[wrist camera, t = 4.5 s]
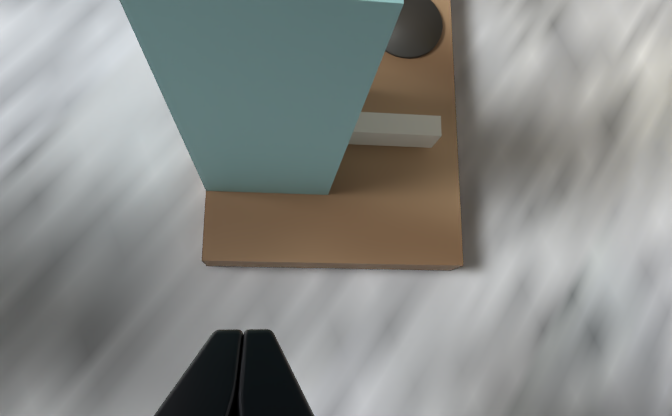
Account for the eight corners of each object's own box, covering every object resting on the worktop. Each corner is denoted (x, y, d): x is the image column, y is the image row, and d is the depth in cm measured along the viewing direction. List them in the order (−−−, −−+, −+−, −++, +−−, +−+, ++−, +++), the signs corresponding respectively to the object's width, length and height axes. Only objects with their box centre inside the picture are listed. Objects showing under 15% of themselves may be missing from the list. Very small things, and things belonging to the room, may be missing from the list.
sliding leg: (429, 198, 16) (633, 20, 7) (206, 190, 16) (110, -18, 6) (425, 90, 17) (603, -195, 8) (212, 78, 16) (137, -251, 7)
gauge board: (450, 270, 17) (464, 264, 16) (206, 265, 16) (200, 259, 15) (434, -94, 20) (445, -124, 19) (229, -113, 19) (225, -146, 18)
